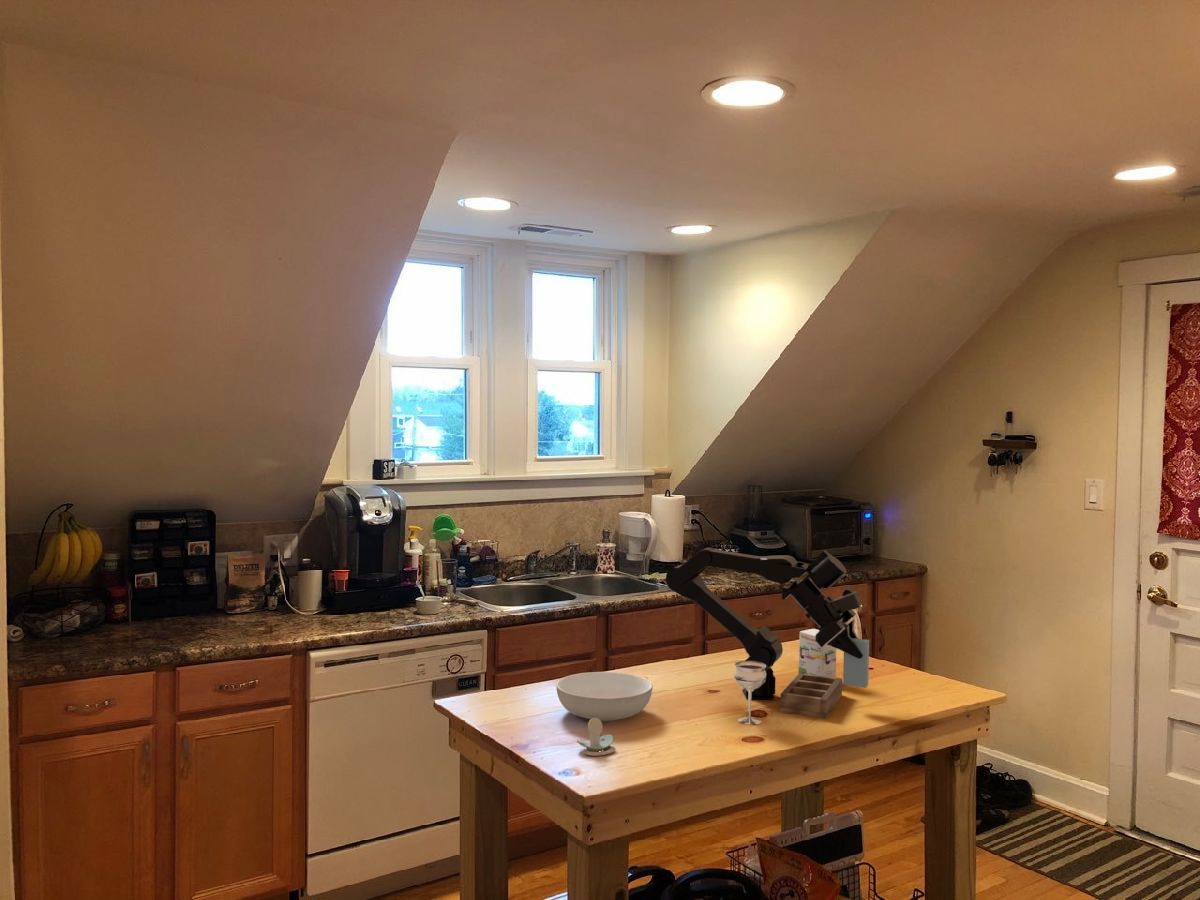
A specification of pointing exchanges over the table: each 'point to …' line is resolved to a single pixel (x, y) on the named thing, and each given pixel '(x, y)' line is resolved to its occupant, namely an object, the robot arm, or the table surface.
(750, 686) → the wineglass
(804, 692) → the rack
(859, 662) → the light blue block
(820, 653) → the ink box
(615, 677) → the serving bowl
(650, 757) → the table surface
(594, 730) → the pacifier
